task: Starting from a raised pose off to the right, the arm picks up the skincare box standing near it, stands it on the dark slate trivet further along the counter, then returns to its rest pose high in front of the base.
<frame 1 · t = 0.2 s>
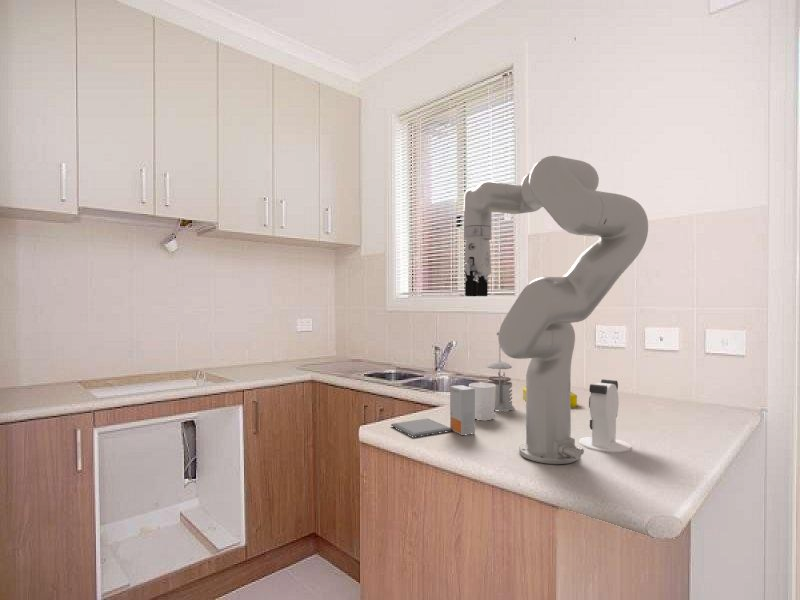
hand: (476, 296, 125), 36 cm above the worktop, tool pointing down, fingers open, 9 cm apart
french press: (500, 409, 146), on the worktop
trivet: (421, 429, 123), on the worktop
element tile: (548, 404, 155), on the worktop
skincare box: (462, 433, 119), on the worktop
panda figurine: (604, 445, 109), on the worktop
white cup: (482, 419, 134), on the worktop
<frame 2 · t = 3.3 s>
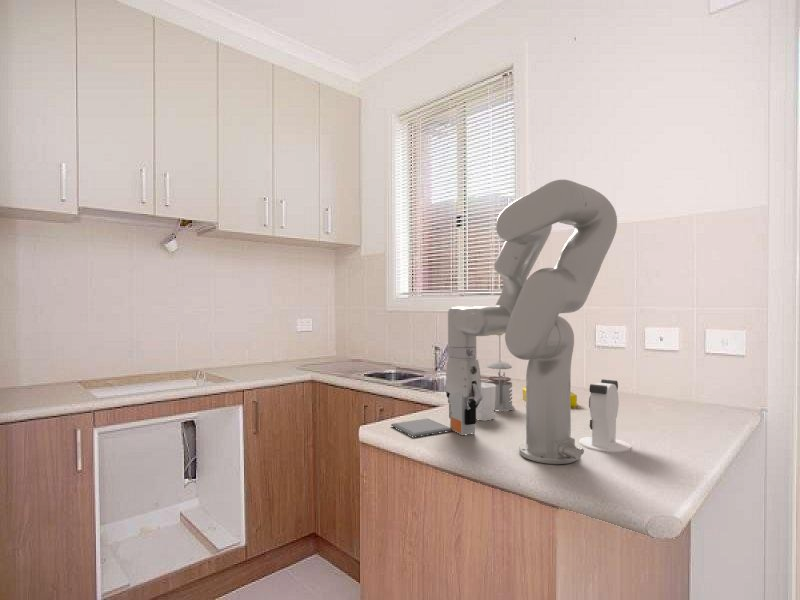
hand: (462, 420, 119), 3 cm above the worktop, tool pointing down, fingers closed on skincare box, 6 cm apart
skincare box: (462, 433, 119), on the worktop, touching gripper
everything else where it was.
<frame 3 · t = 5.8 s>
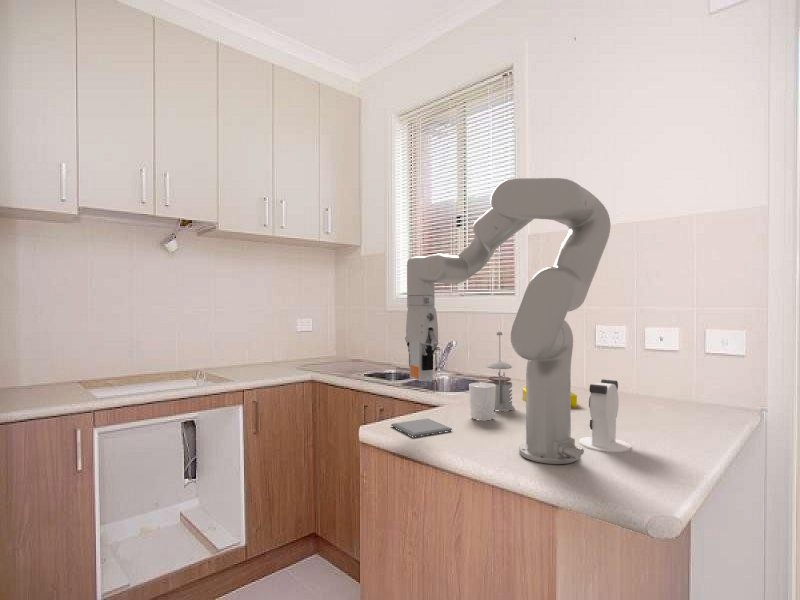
hand: (420, 367, 123), 17 cm above the worktop, tool pointing down, fingers closed on skincare box, 6 cm apart
skincare box: (421, 379, 123), point 13 cm above the worktop, touching gripper
everything else where it was.
when the fingers open (5 cm above the worktop, at t = 8.3 s): skincare box stays where it is, resting on trivet.
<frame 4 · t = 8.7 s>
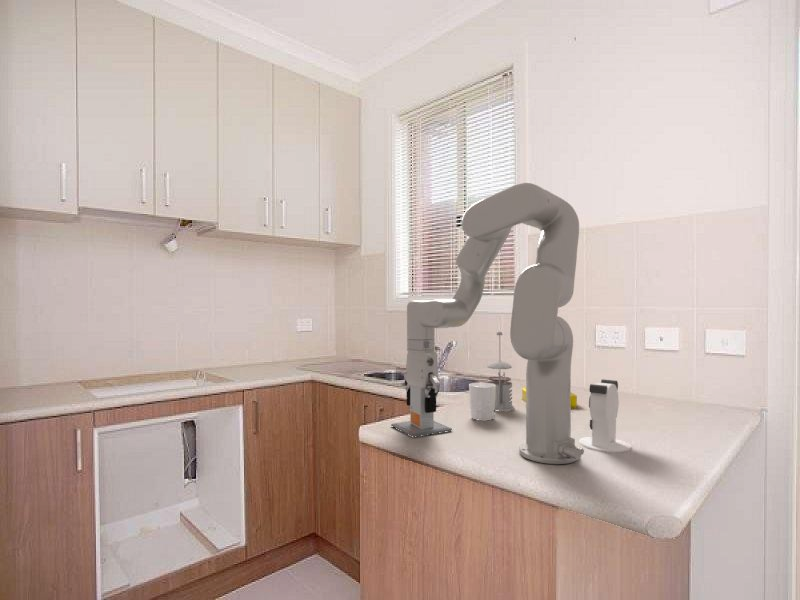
hand: (420, 408, 123), 6 cm above the worktop, tool pointing down, fingers open, 9 cm apart
skincare box: (421, 426, 122), point 1 cm above the worktop, touching trivet
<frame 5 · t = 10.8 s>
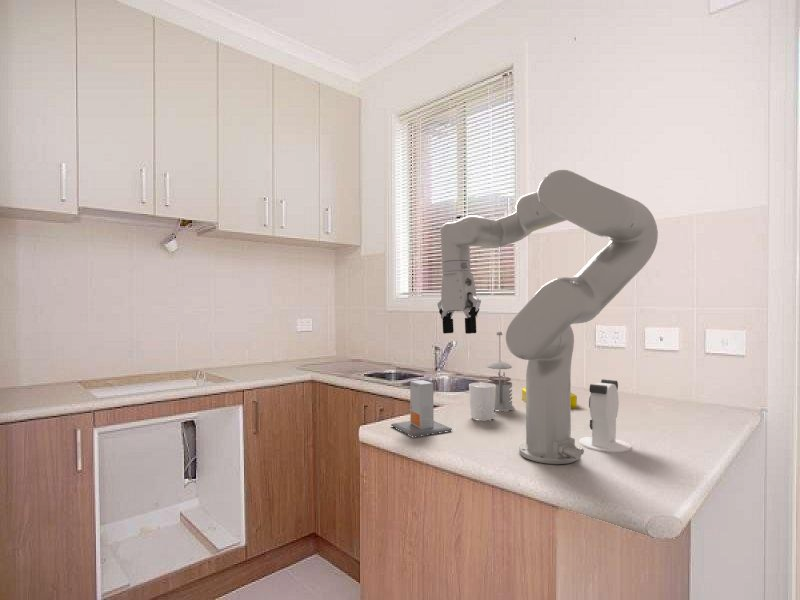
hand: (459, 333, 119), 26 cm above the worktop, tool pointing down, fingers open, 9 cm apart
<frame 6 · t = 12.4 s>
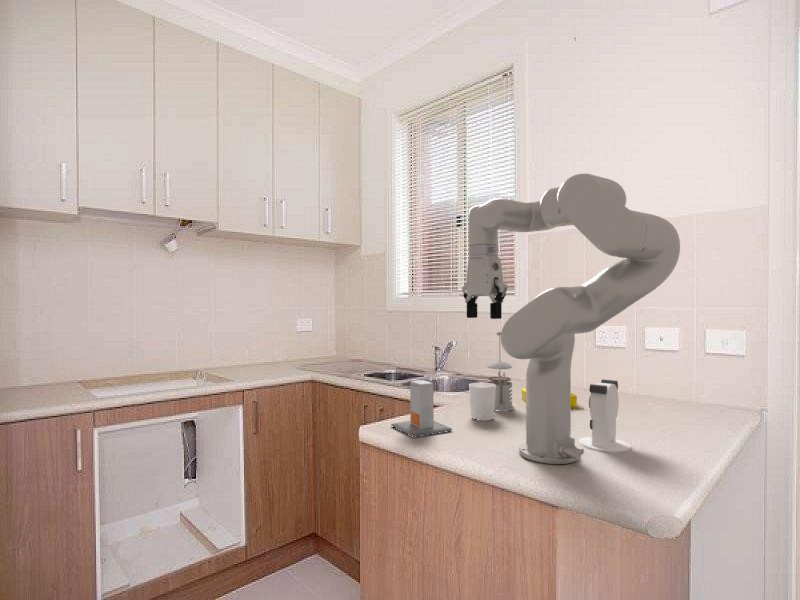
hand: (483, 318, 118), 30 cm above the worktop, tool pointing down, fingers open, 9 cm apart
at the end: skincare box inside the target area on the trivet (0.3 cm from its centre), point 0.7 cm above the trivet's base; skincare box tilted 0°; the gripper is holding nothing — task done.
